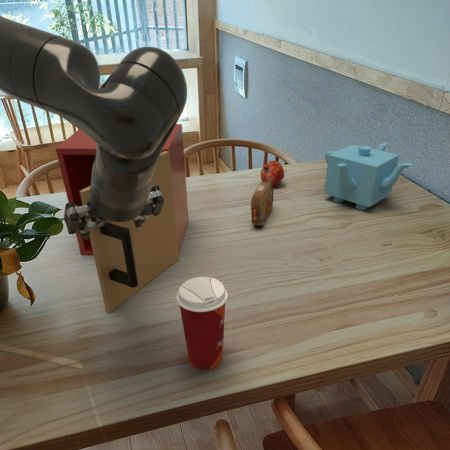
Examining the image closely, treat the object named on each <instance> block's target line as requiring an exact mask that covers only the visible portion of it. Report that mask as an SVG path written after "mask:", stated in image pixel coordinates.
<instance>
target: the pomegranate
mask: <svg viewBox="0 0 450 450" xmlns="http://www.w3.org/2000/svg"><path fill="white" fill-rule="evenodd" d="M259 176H260V180H261V182H272V184H273V188H276V187H277V186H279V185H280V184H281V182H283V179H285V170H284V167H283V165H282V164H281V163H280V161H277V160H270V161H268V162H266V163H265V164H263V166H262V168H261V170H260V175H259Z"/></svg>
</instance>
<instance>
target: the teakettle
mask: <svg viewBox="0 0 450 450" xmlns="http://www.w3.org/2000/svg"><path fill="white" fill-rule="evenodd" d="M388 145H389V143H388V142H387V141H386V142H382V143H379V145H378V146H377V148H376V149H375V148H373V147H372V146H370V145H367V144H364V145H357V144H349V145H348V146H346V147H344V148H343V147H342V148H341V149H339V150H329V151H326V153H324V160H325V162H326V164H327V165H326V173H325V181H324V190H323V194H324V195H328V196H331V197H333V199H332V201H333V202H335V203H343V202H344V201H347V202H351V203H354V204H355V209H357V210H360V211H362V210H366V209H368V208H371V207H372V206H374V205H376V204H377V203H378V202H380V201H382V200H384V199H385V198H386V197H388V196H389V195H391V194H392V191H393V186H394V185H395V184H396V182H397V181H398V179H399V178H400V175H401V174H402V173H403V171H404V170H405V169H406V168H409V167H413V166H414V164H413V163H409V162H401V163H399V164H398V162H399V158H400V155H399V154H396V153H394V152H393V153H392V152H388V151H385V149H386V148H387V146H388Z"/></svg>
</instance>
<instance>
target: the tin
mask: <svg viewBox="0 0 450 450" xmlns="http://www.w3.org/2000/svg"><path fill="white" fill-rule="evenodd" d="M273 206H274V187H273V184H272V182H263V181H261V182H259V184H258V186H257V188H256V190H255V191H254V193H253V194H252V197H251V201H250V211H251V224H252V225H253V226H260V227H264V226H265V225H266V223H267V221H268V220H269V218H270V215H271V214H272V210H273Z"/></svg>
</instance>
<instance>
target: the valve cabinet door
mask: <svg viewBox="0 0 450 450" xmlns="http://www.w3.org/2000/svg"><path fill="white" fill-rule="evenodd" d="M156 185H158V186H159V187H160V190H161V193H162V196H163V199H164V204H163V207H162V210H161V213H160V214H159V215H157V216H153V214H150V215H148V216H149V218H148V219H146V220H145V222H144V223H143V224H142V225H141V227H138V228H136V226H135V223H134V220H130V221H127V222H114V221H112V222H108V223H106V224H105V225H103V226H102V227H100V228H99V229H91V230H90V241H91V245H92V250H93V255H94V256H93V258H94V264H95V268H96V272H97V277H98V282H99V287H100V290H101V296H102V300H103V304H104V309H105V312H107V313H109V314H111V313H113V311H114V310H116V309H117V308H118V307H120V306H121V305H122V304H123V303H124V302H126V301H127V300H129V299H130V298H131V297H132V296H134V295H135V294H136V293H137V292H139V291H141V290H142V289H143V288H144V287H145V286H147V285H148V284H149V283H151V282H152V281H153V280H154V279H156V278H157V277H158V276H160V275H161V274H162V273H164V272H166V270H168V269H169V268H170V267H171V266H173V265H174V264H175V263H176V262H178V261H179V260H180V257H179V256H180V254H179V255H178V244H177V233H176V222H175V211H174V200H173V189H172V178H171V167H170V156H169V152H168V151H164V152H162V153H161V154H160V157H159V161H158V165H157V168H156V171H155V173H154V176H153V184H152V187H153V186H156ZM90 187H91V186H89V187H87V188H85V189H83V190H81V191H80V196H81V200H82V205H83V206H84V205H86V203H87V202H88V201H89V200H90ZM152 187H151V188H152ZM150 191H151V190H150ZM146 204H148V202H146ZM98 220H99V219H97V221H98ZM86 221H87V224H88V220H87V218H86Z"/></svg>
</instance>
